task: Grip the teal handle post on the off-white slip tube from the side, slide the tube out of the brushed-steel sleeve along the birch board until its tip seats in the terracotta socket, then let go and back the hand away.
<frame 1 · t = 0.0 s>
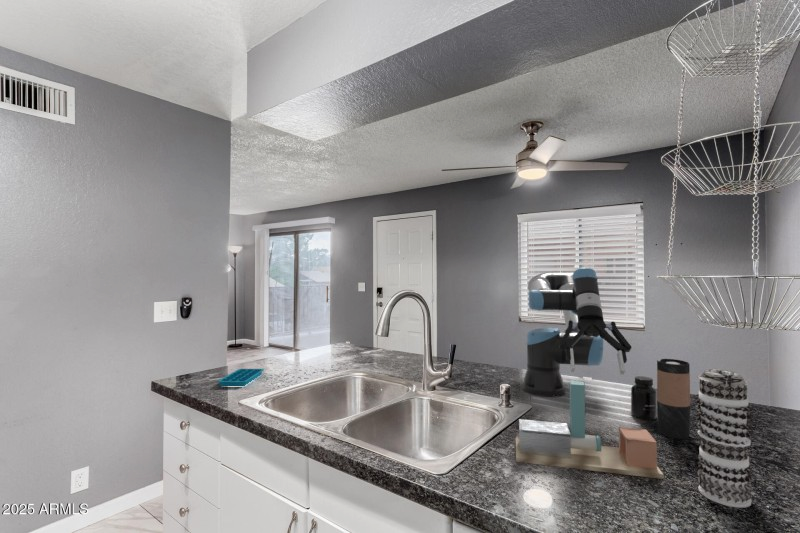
hand: (597, 371, 119), 15 cm above the worktop, tool tilted 35°, fingers open, 13 cm apart
ice cube tray: (242, 382, 167), on the worktop
slip tube: (564, 414, 98), point 10 cm above the worktop, slide at 0.0 cm
decorative candle: (724, 496, 81), on the worktop
socket: (637, 447, 94), on the base board, point 4 cm above the worktop
sleeve: (543, 438, 100), on the base board, point 4 cm above the worktop
travel mug: (673, 434, 111), on the worktop
base board: (568, 456, 98), on the worktop
supplement bottle: (643, 417, 124), on the worktop
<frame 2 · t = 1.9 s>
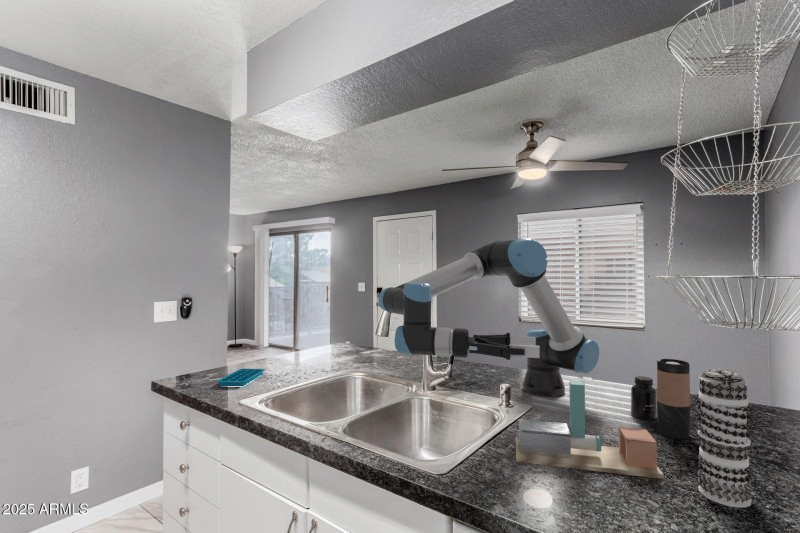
hand: (537, 346, 100), 27 cm above the worktop, tool horizontal, fingers open, 13 cm apart
nothing on the worktop moved.
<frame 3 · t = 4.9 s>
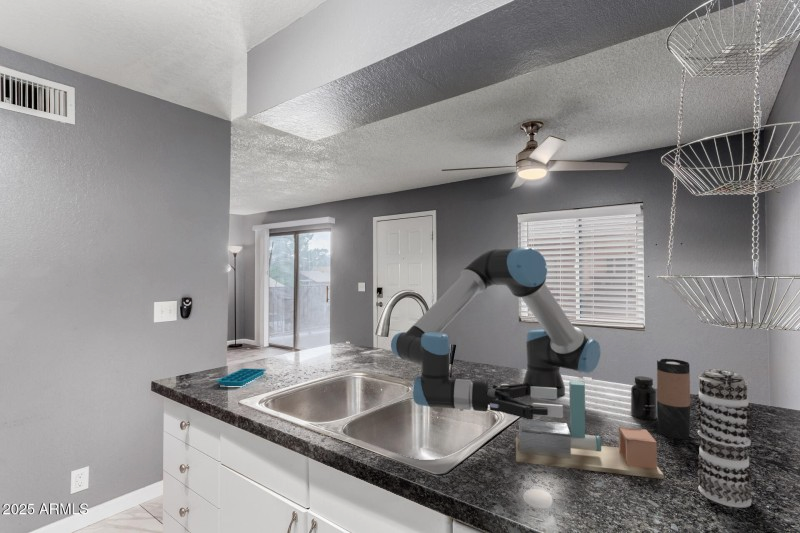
hand: (559, 401, 98), 13 cm above the worktop, tool horizontal, fingers open, 13 cm apart
nothing on the worktop moved.
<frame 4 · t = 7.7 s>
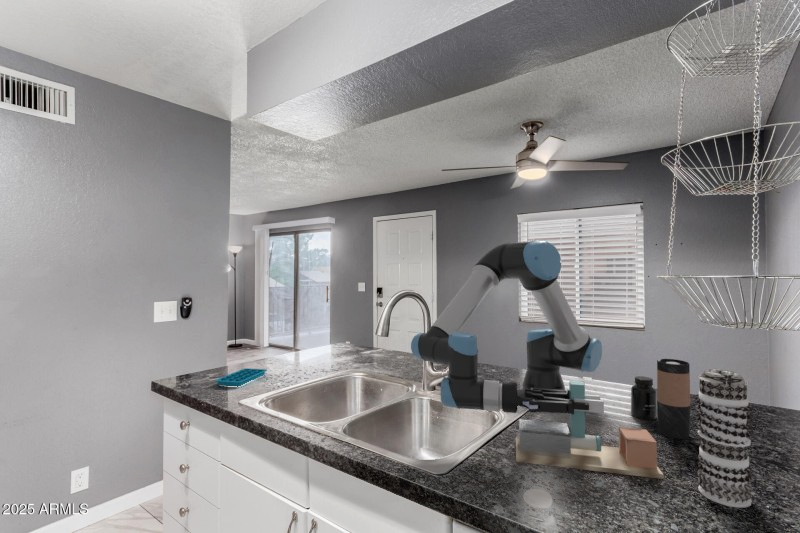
hand: (601, 404, 96), 14 cm above the worktop, tool horizontal, fingers closed on slip tube, 3 cm apart
slip tube: (564, 414, 98), point 10 cm above the worktop, slide at 0.0 cm, touching gripper
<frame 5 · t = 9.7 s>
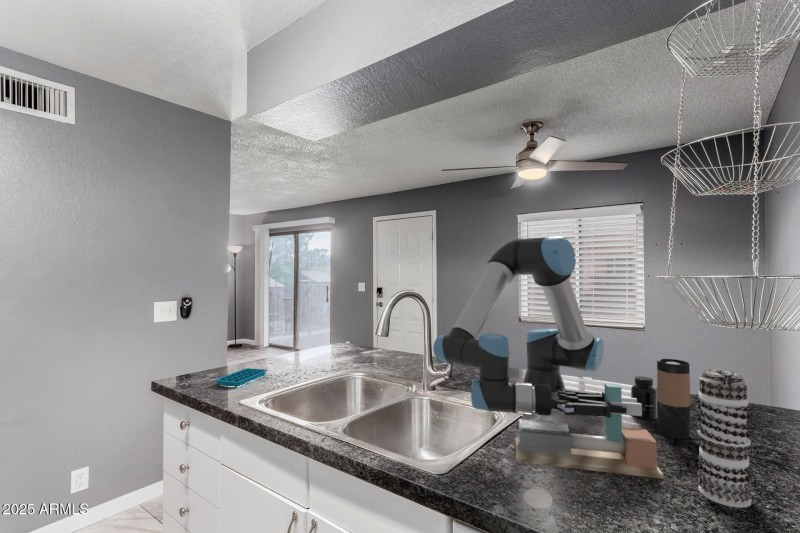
hand: (638, 406, 94), 13 cm above the worktop, tool horizontal, fingers closed on slip tube, 3 cm apart
slip tube: (599, 417, 96), point 10 cm above the worktop, slide at 7.9 cm, touching gripper
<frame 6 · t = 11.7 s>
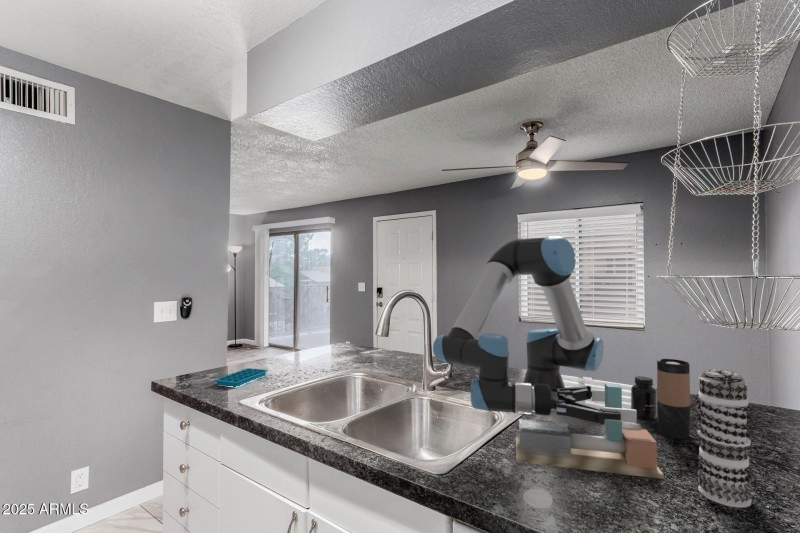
hand: (627, 405, 95), 14 cm above the worktop, tool horizontal, fingers open, 13 cm apart
slip tube: (599, 417, 96), point 10 cm above the worktop, slide at 8.0 cm
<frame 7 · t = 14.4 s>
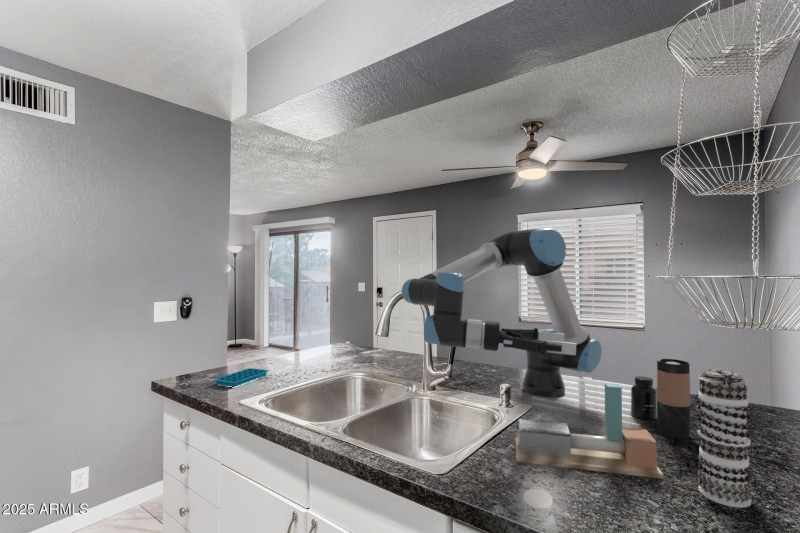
hand: (569, 343, 100), 27 cm above the worktop, tool horizontal, fingers open, 13 cm apart
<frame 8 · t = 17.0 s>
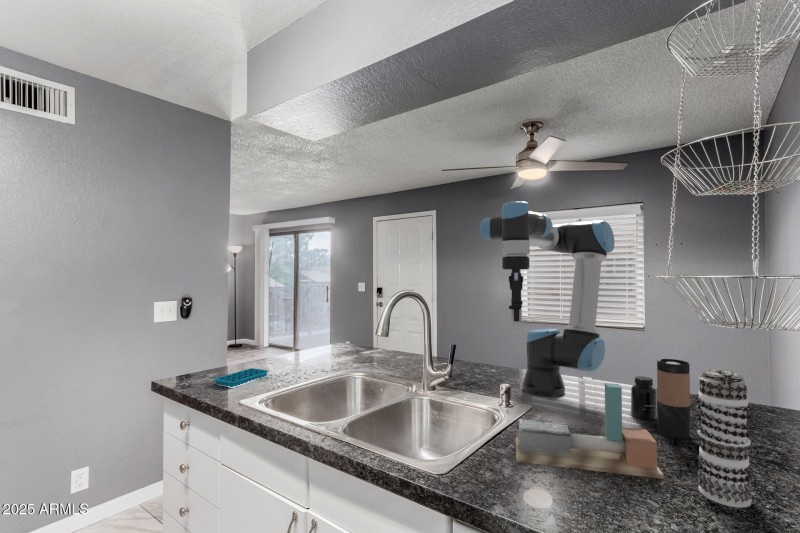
hand: (516, 329, 115), 29 cm above the worktop, tool pointing down, fingers open, 13 cm apart
at the end: slip tube slide at 8.0 cm; the gripper is holding nothing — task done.
